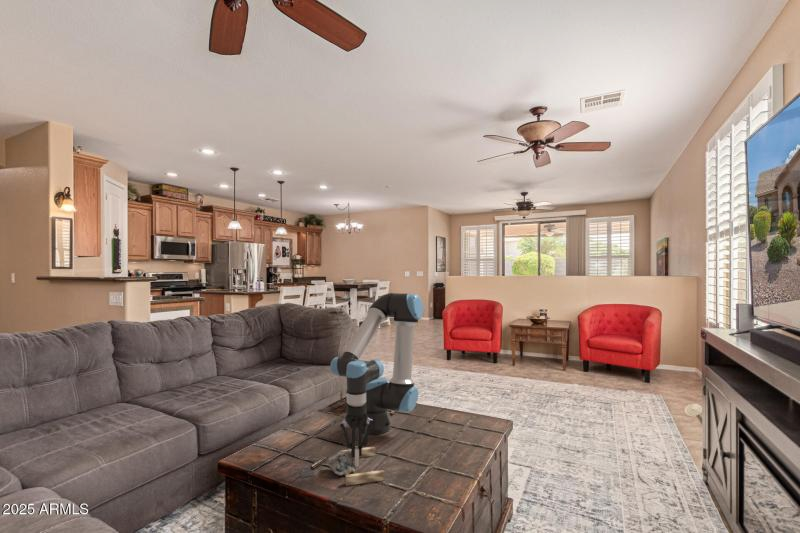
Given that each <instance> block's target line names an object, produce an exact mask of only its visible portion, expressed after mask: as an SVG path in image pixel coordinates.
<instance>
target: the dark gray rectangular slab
mask: <svg viewBox="0 0 800 533" xmlns="http://www.w3.org/2000/svg"><path fill="white" fill-rule="evenodd" d="M310 477H311V478H312V477H315V470H314V469H313V470H311V469H310V470H303V471H300V479H303V478H310Z"/></svg>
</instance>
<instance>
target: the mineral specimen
mask: <svg viewBox="0 0 800 533" xmlns="http://www.w3.org/2000/svg"><path fill="white" fill-rule="evenodd" d="M346 450H347V451H341V450H340V451H341V452H340V451H337V452H336V453H335V454H333V455H331V456H329V457H328V460H327V463H328V464H329V466H328V468H330V470H331V471H332V472H333V473H334V474H335V475H336V476H339V477H340V476H341V477H342V476H346V475H349V474H356V468H357V467H355V465H354V458H353V457H352V455H351V450H350V449H346Z"/></svg>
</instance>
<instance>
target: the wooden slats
mask: <svg viewBox="0 0 800 533" xmlns="http://www.w3.org/2000/svg"><path fill="white" fill-rule="evenodd" d="M347 450H348V449H342V450H340V451H339V452H341V451H347ZM349 450H351V448H349ZM374 456H376V447H375V446H367V447H362V455H361V456H359V459H360V458H365V457H374ZM353 459H354V457H353ZM385 474H386V473H385V470H384V469H381V470H372V471H366V472H359V473H356V472H355V473H354V474H353V473H349V474H348V475H345V483H344V484H345V486H346V487H347V486H354V485H359V484H360V485H361V484H369V483H374V482H381V481H385V479H386V475H385Z"/></svg>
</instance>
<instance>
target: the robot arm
mask: <svg viewBox="0 0 800 533" xmlns="http://www.w3.org/2000/svg"><path fill="white" fill-rule="evenodd" d="M366 312H367V313H366V314H367V315H366V316H365V318H364V320H363V321H362V323H361V325H360V326H359V328H358V329H357V331H356V332H355V334H354V336H353V337H352V339H351V340H350V342H349V344H348V345H347V347H346V348H345V349H344V351H343V353H342V355H341V356H335V357H334V358H333V359H331V361H330V367H329V369H330V372H331V373H332V374H333V375H335V376H338V377H345V378H346V390H347V395H346V416H345V418H344V420H343V421H340V422H339V426H340V428H341V430H342V432H343V435H344V440H345V443H346V448H347V449H351V455H352V457H354V458H353V459H354V460H353V465H355V467H356V468H357V467H359V466H360V460H359V459H360V458H359V456H361V455H362V448H364V447H366V446H367V445H368V440H369V435H381V434H384V433H387V432H389V431H390V430H391V428H392V421H391V418H390V415H389V413H388V410H390V411H393V412H394V411H395V412H399V413H404V414H405V413H406V414H407V413H408V414H409V413H411V412H412V411H413V410H414V409H415V407H416V405H417V402H418V399H419V390H418V387H416V386H415V381H414V380H413V379H412V371H413V370H412V368H413V353H414V338H415V328H416V327H415V326H417V325H418V323H419V320H420V319H422V318H423V314H424V303H423V300H422V299H421V297H420V296H419V294H415V293H396V292H394V293H393V292H390V293H389V292H388V293H385V294H383V295H381V296H380V297H378V298H377V299H376V300H375V301H374V302H373V303H372V304H371V305H370V306H369V307H368V309H367V311H366ZM388 318H393V323H394V324H395V327H396V328H395V341H394V355H393V369H392V370H393V371H392V377H391V378H390V379H389V381H388V378H387V377H383V374H384V370H385V367H384V364H383V362H381V361H380V360H378V359H371V360H362V359H361V358H362V357H363V354H365V352H366V350H367V348H368V346H369V345H370V343H371V341H372V339H373V338H374V335H375V334H376V332H377V331H378V330H379V327H380V325H381V324H382V323H384V322H386V320H387V319H388ZM347 425H348V426H349V428H350V440H349V434H348V431H347V428H346V427H347ZM356 429H357V445H356Z"/></svg>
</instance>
